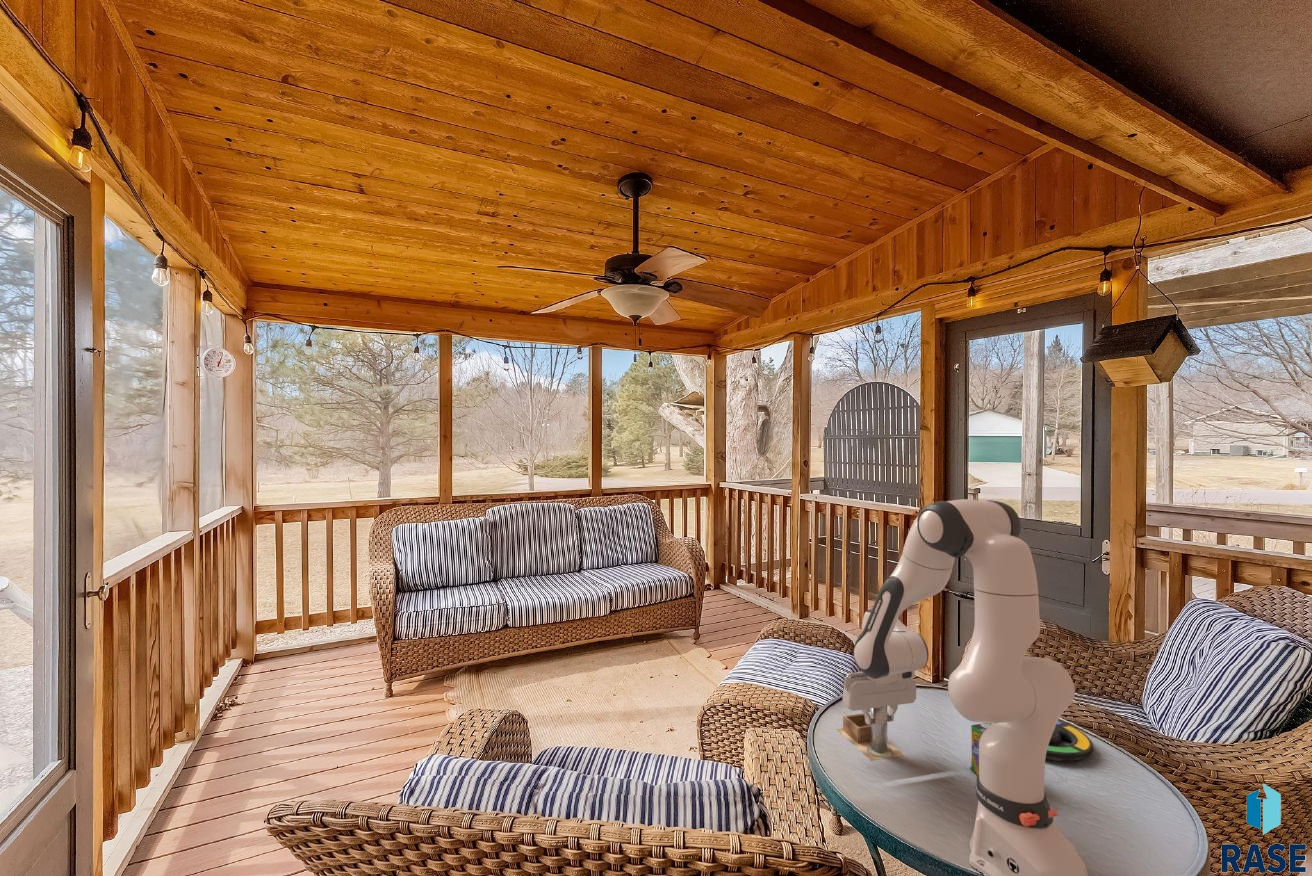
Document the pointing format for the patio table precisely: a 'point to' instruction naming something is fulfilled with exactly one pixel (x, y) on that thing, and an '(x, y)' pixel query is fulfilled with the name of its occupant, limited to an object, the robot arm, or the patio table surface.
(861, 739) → the pocket board
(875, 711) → the peg
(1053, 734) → the electronic game
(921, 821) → the patio table surface
